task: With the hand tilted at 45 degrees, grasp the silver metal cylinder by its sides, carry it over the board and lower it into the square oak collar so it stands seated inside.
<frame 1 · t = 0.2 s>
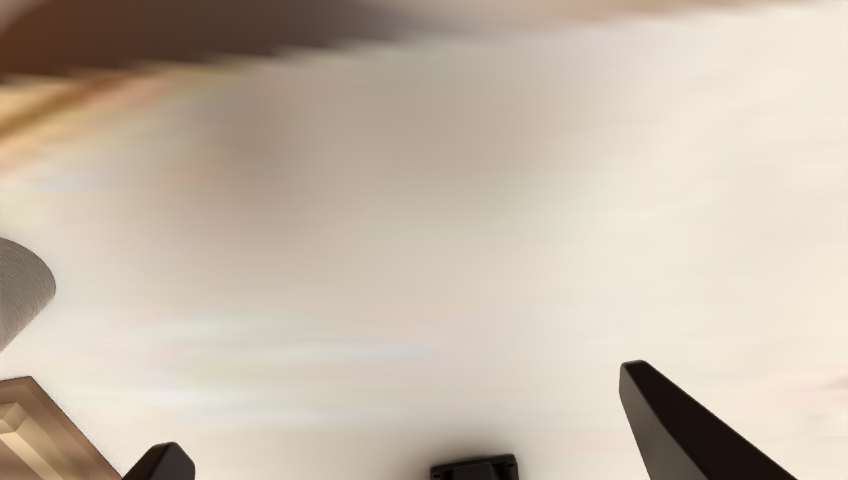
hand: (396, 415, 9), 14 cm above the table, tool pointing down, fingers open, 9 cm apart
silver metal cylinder: (3, 275, 24), on the table
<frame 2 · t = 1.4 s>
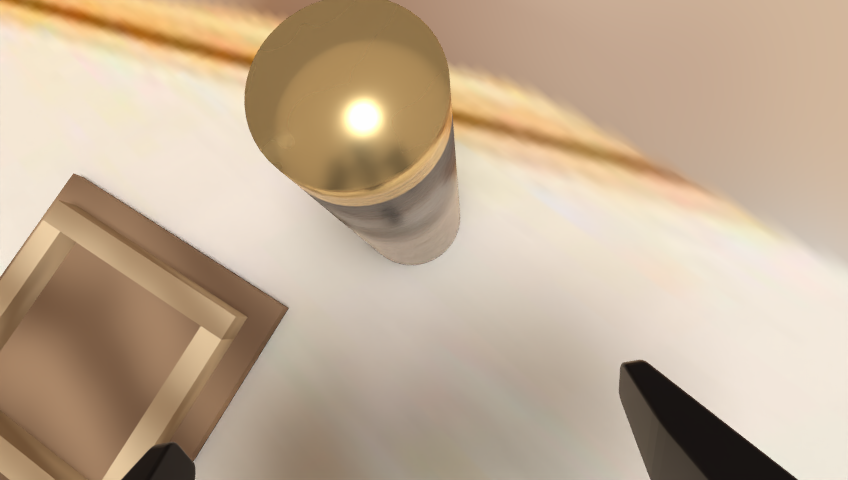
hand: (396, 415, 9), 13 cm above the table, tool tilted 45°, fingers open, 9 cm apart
socket board: (102, 357, 24), on the table
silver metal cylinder: (412, 217, 23), on the table
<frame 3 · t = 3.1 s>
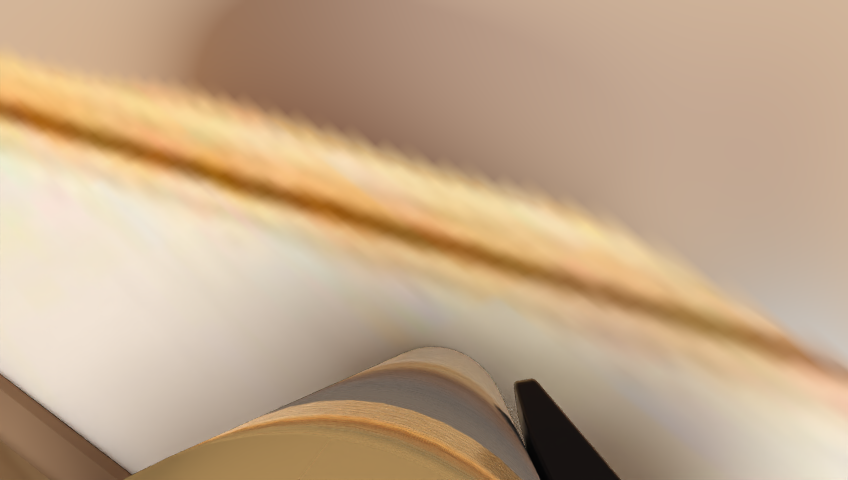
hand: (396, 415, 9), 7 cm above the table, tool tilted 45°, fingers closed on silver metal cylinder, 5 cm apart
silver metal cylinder: (433, 420, 16), on the table, touching gripper
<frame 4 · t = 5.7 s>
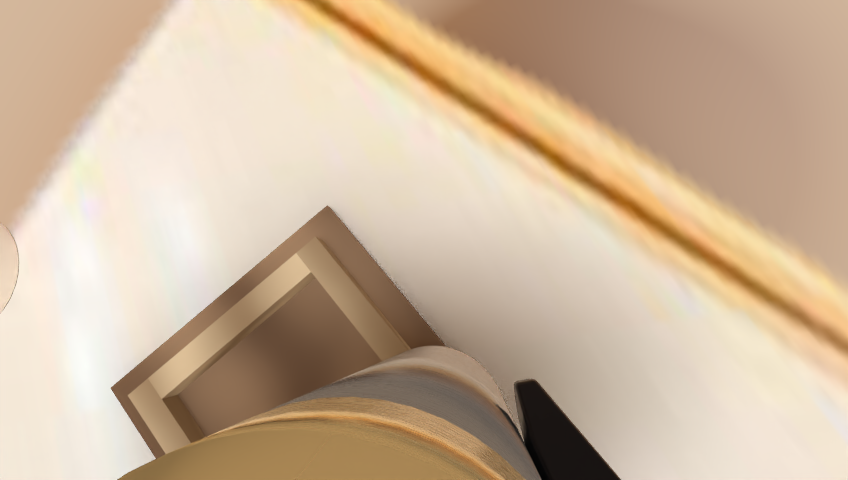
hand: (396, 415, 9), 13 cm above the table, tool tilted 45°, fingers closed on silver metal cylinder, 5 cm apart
socket board: (307, 406, 23), on the table
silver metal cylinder: (433, 419, 16), point 7 cm above the table, touching gripper
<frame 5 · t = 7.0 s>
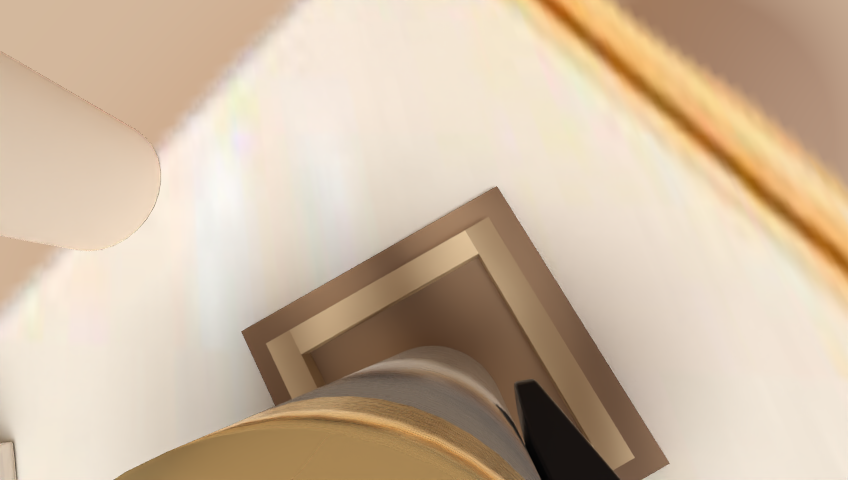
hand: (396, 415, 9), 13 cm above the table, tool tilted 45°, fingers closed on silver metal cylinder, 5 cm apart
socket board: (442, 391, 21), on the table
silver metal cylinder: (433, 419, 16), point 6 cm above the table, touching gripper
cylindrical container: (100, 186, 25), on the table
when the fingers open (8 cm above the table, at t = 8.2 s): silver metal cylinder drops 1 cm, resting on socket board.
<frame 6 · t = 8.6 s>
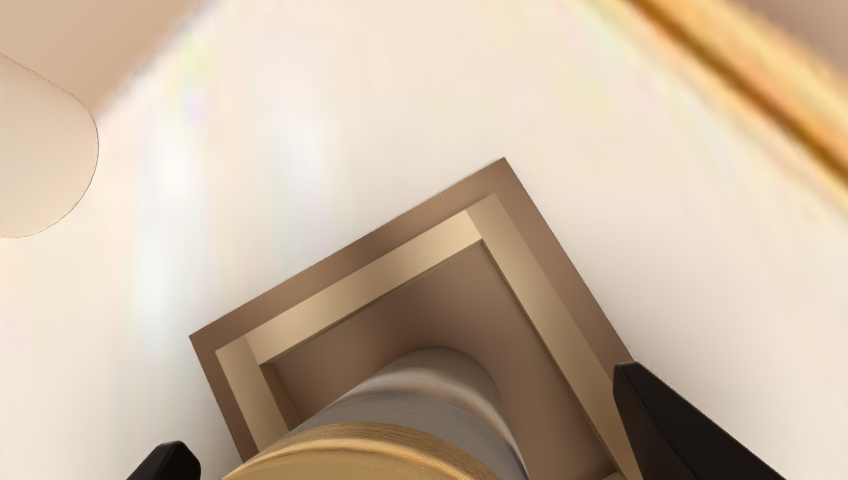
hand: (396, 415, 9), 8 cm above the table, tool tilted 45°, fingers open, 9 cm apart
socket board: (437, 410, 17), on the table
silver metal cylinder: (435, 415, 17), point 1 cm above the table, touching socket board
cylindrical container: (26, 160, 21), on the table
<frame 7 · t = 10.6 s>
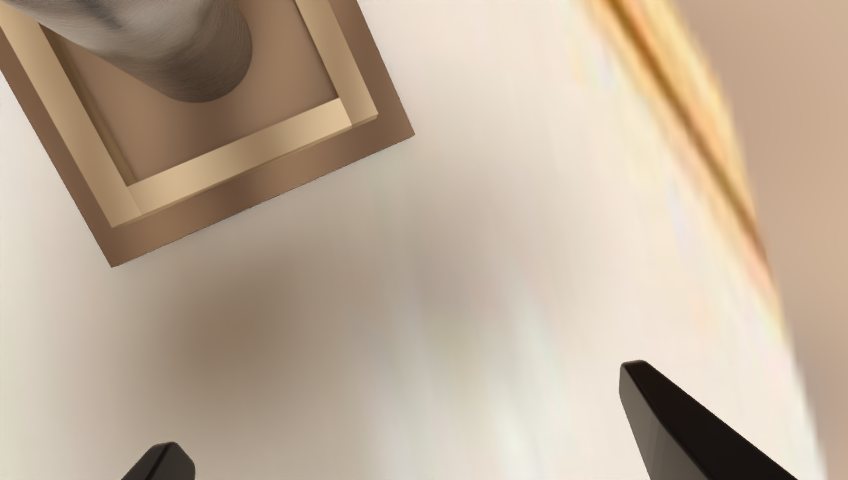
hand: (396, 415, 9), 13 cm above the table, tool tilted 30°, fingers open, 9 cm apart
socket board: (196, 47, 20), on the table
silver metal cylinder: (191, 43, 19), point 1 cm above the table, touching socket board
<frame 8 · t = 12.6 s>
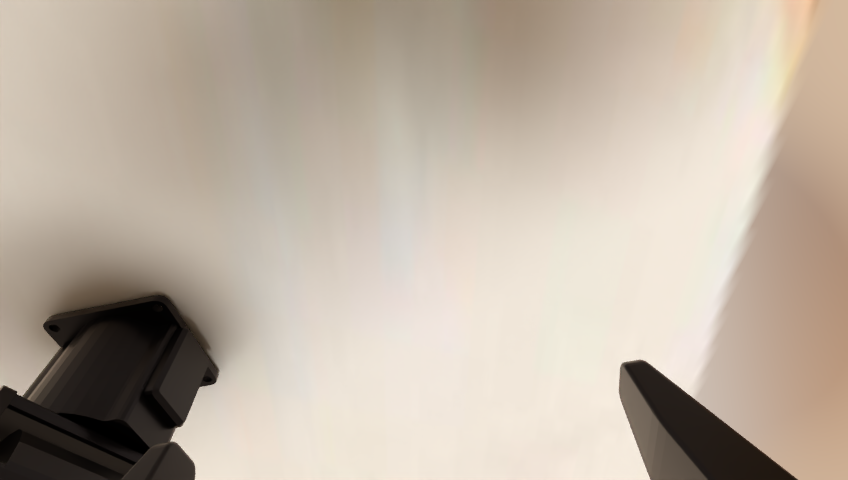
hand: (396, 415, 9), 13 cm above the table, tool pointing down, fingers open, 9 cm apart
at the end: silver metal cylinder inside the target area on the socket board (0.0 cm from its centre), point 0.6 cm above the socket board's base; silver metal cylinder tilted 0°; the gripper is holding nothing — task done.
